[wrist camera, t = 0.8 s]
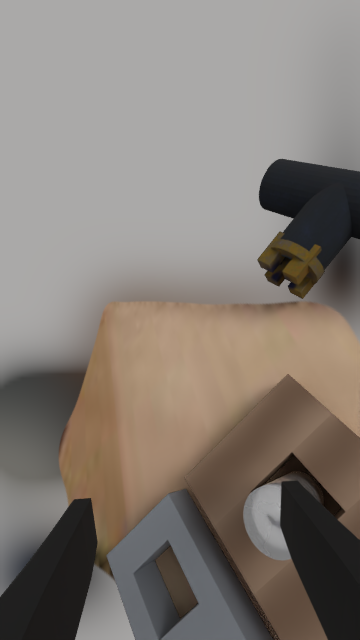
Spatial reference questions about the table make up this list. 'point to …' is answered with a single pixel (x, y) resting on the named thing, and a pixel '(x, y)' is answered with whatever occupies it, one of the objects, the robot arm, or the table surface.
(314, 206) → the pipe connector
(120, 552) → the tool rack
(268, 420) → the socket block
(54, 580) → the robot arm
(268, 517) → the steel peg
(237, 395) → the table surface
